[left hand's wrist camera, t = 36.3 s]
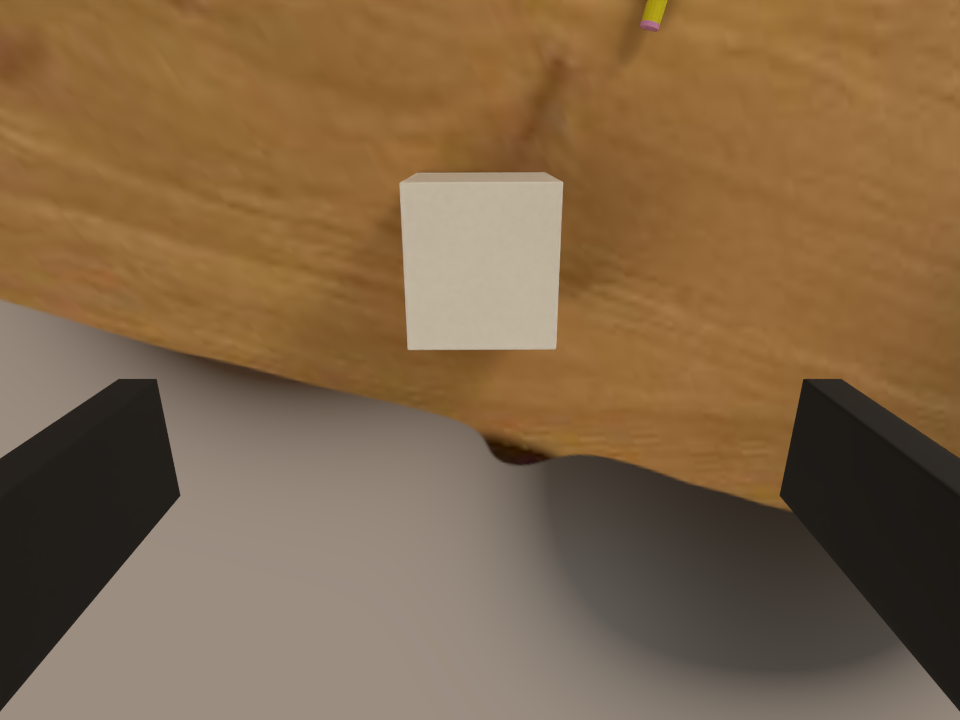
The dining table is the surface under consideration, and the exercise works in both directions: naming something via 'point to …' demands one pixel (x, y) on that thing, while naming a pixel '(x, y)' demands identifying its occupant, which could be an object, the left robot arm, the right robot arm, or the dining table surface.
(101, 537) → the left robot arm
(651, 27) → the pencil
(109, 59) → the dining table surface
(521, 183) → the block
